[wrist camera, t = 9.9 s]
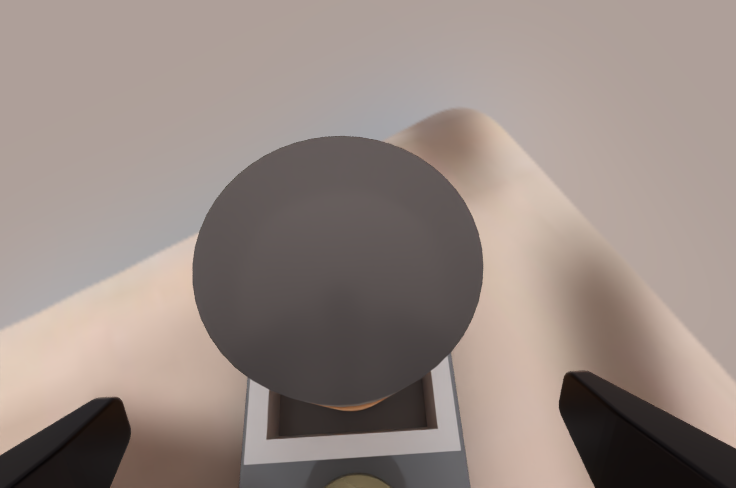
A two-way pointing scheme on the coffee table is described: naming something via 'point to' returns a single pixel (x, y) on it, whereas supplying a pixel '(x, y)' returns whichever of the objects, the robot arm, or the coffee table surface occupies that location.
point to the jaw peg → (337, 271)
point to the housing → (357, 440)
